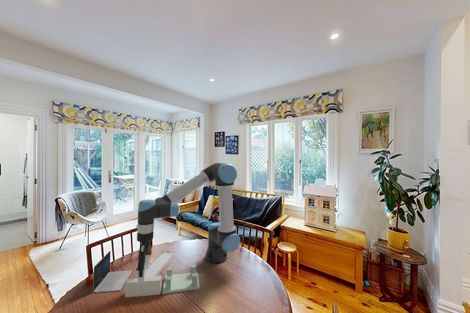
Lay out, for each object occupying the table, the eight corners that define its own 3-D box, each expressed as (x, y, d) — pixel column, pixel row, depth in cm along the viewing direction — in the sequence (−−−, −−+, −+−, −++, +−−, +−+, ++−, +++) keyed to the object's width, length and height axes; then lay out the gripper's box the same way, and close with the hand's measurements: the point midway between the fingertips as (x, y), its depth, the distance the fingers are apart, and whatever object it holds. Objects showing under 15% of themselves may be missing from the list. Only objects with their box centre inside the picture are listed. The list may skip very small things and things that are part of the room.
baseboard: (134, 280, 110) (151, 281, 109) (134, 274, 110) (151, 276, 109) (160, 254, 140) (174, 255, 139) (160, 250, 140) (174, 251, 139)
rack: (197, 273, 116) (197, 263, 116) (199, 288, 103) (199, 276, 103) (164, 277, 111) (165, 266, 112) (162, 294, 98) (162, 281, 98)
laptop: (120, 291, 100) (120, 265, 100) (92, 293, 98) (93, 267, 98) (132, 271, 118) (132, 249, 118) (109, 273, 115) (109, 250, 116)
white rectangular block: (161, 289, 102) (161, 275, 102) (159, 294, 98) (160, 280, 98) (127, 292, 99) (128, 278, 99) (124, 297, 95) (125, 282, 95)
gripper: (142, 224, 110) (140, 263, 110) (130, 242, 86) (128, 292, 86) (156, 223, 112) (154, 261, 112) (149, 240, 88) (147, 289, 87)
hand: (143, 275), depth 99 cm, fingers open, 13 cm apart
